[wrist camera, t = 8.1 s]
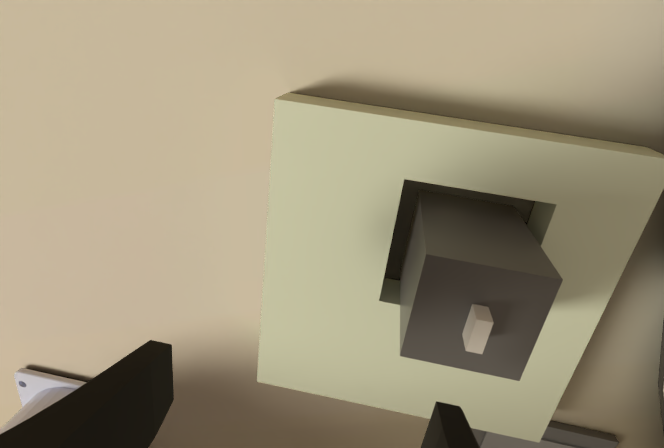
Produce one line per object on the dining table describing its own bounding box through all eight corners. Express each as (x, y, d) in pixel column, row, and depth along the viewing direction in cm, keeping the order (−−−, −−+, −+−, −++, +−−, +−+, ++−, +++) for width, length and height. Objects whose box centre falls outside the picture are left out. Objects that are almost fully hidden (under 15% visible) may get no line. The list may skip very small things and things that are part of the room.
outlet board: (527, 409, 22) (539, 442, 20) (268, 354, 23) (256, 381, 21) (645, 146, 16) (677, 160, 14) (288, 92, 17) (274, 98, 15)
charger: (486, 284, 19) (525, 400, 13) (400, 268, 20) (399, 372, 13) (513, 205, 18) (573, 295, 11) (418, 189, 18) (427, 267, 12)
